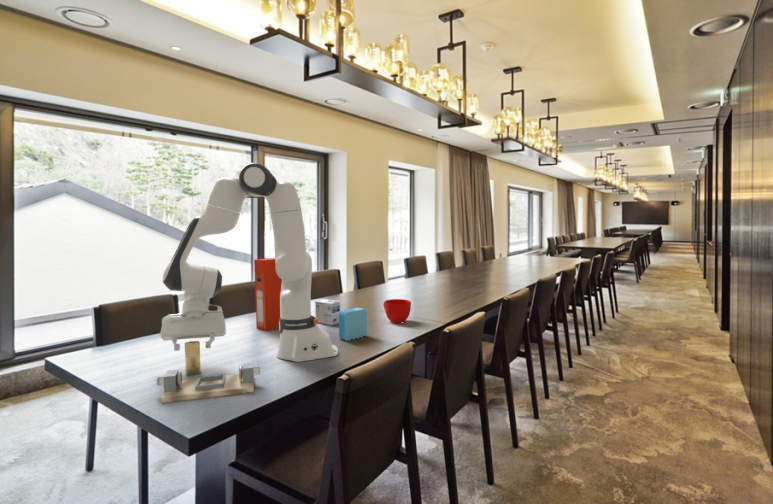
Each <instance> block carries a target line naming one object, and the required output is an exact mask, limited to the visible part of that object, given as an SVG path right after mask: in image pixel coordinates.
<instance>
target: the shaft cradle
mask: <svg viewBox="0 0 773 504" xmlns="http://www.w3.org/2000/svg"><path fill="white" fill-rule="evenodd" d="M260 375H261V366H254V362H243V363H242V365H239V367H238V373H237V374H229V375H228V374H227V375H226V374H225V373H223V374H214V375H206V376H205V375H204V376H199V377H198V378H189V379H183V371H179V369H173V370H166V372H165V373H164V376H157V379H156V385H157V386H158V387H159V386H163V394H162V396H161V404H163V403H173V402H182V401H188V400H198V399H199V400H200V399H205V398H207V399H208V398H215V397H222V396H223V397H224V396H230V395H239V393H241V394H246V393H247V392H249V393H254V392H255V391H254V390H255V389H254V385H255V383H254V382H255V376H260ZM247 394H248V393H247Z"/></svg>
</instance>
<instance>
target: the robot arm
mask: <svg viewBox="0 0 773 504" xmlns="http://www.w3.org/2000/svg"><path fill="white" fill-rule="evenodd" d="M261 198H265V200H266V201H267V203H268V206H269V213H270V219H271V225H272V232H273V239H274V241H273V242H274V258H275V263H276V266H275V269H276V273H277V275H278V276H279V277H280V278H281V279H282V286H281V294H280V318H279V328H278V331H279V333H280V334H279V342H278V348H277V353H276V357H277V358H279V359H281V360H286V361H293V362H295V363H301V362H306V361H307V362H308V361H312V360H318V359H319V360H320V359H325V358H331V357H336V356H337V355H338V354H339V348H338V347H337V345H335V344H333V342H332V338H331V336H330V334H329V333H328V332H327V331H325V330H324V329H322V328H321V327H320V326H318V325H319V324H320V323H319V320H318V319H317V318H316V316H315V315H312V307H311V306H312V304H311V301H312V300H311V299H312V298H311V294H312V293H311V292H312V278H313V277H312V276H313V260H312V257H311V255H310V253H309V252H307V251H306V250H307V249H306V235H305V226H304V219H303V218H304V217H303V213H302V206H301V202H300V197H299V195H298V192H297V188H296V187H295V185H294V184H293V183H292V182H289V181H286V180H284V181H283V180H282V181H279V180H277V178H275V176H274V175H273V174H272V172H271V171H270V170H269V168H267V166H265V165H264V164H261V163H259V162H250V163H248V164H246V165H244V166H243V167H242V168H241V170H240V172H239V173H238V177H237V178H235V177H229V176H225V177H224V176H223V177H220V178H218V179H217V180H216V182H215V184H214V186H213V188H212V191H211V192H210V195H209V198H208V201H207V205H206V207H205V209H204V211H203V212H202V213H201V214H200V215H199V216H195V217H194V218H193V219H192V220H191V221H190V222H189V224H188V226H187V228H186V229H185V232H184V233H183V235H182V238H181V239H180V242H179V244H178V246H177V249H176V250H175V252H174V254H173V255H172V258H171V260H170V262H169V263H168V264H167V266H166V268H165V270H164V272H163V276H162V282H163V284H164V286H165V287H166V288H167V289H168V290H169V291H175V292H184V293H183V298H184V301H183V304H182V310H181V313H175V314H171V313H169V314H167V315H165V316H163V317H162V319H161V329H160V334H159V335H160V338H161V339H162V340H163V341H171V342H172V344H173V350H174V352H176V351H177V352H178V351H180V350H181V344H180V343H178V340H188V339H189V340H191V339H204V338H207V339H208V338H209V340H208V341H205V344H204V345H205V349H211V347H212V344H213V342H214V341H215V339H216V338H218V337H224V336H225V335H226V334H227V328H226V320H225V316H224V313H223V312H224V310H223V309H222V306H220V305H216V304H215V305H214V304H211V303H210V299H213V298H214V297H216V295H218V294H219V293H220V291H221V289H222V286H223V275H222V273H221V271H220V270H219V269H218V268H214V267H210V266H205V265H199V264H195V263H189V262H187V259H188V257H189V256H190V253H191V252H192V249H193V247H194V245H195V243H196V242H197V240H199V239H200V238H202V237H205V236H206V237H207V236H210V235H211V236H212V235H220V234H221V235H222V234H225V233H228V232H230V231H232V230H233V229H234V228H236V226H237V223H238V221H239V218H240V215H241V212H242V207H243V203H244V202H245V200H246V199H261Z"/></svg>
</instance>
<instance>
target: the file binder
mask: <svg viewBox="0 0 773 504" xmlns="http://www.w3.org/2000/svg"><path fill="white" fill-rule="evenodd" d="M253 260H254V261H253V262H254V263H253V264H254V287H255V288H254V289H255V290H254V291H255V294H254V296H255V297H254V298H255V318H256V319H255V320H256V321H255V322H256V326H255V327H256V329H258V330H261V331H263V332H264V331H265V332H266V331H267V332H268V331H271V330H275V329H279V318H280V294H281V286H282V279H281V278H280V277H279V276H278V275H277V273H276V269H275V266H276V263H275V257H271V258H270V257H269V258H259V259H253Z"/></svg>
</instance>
